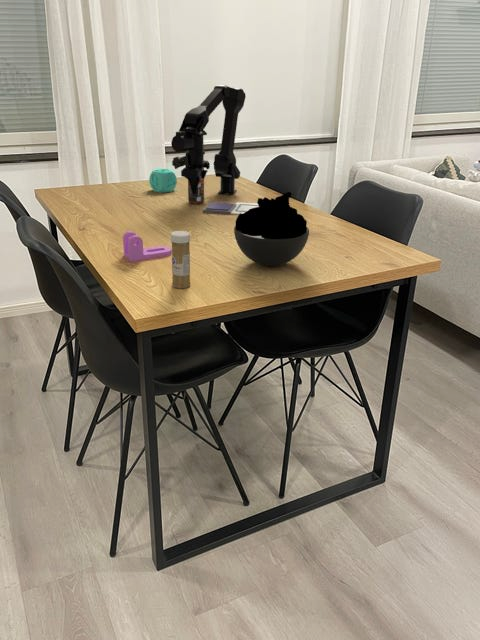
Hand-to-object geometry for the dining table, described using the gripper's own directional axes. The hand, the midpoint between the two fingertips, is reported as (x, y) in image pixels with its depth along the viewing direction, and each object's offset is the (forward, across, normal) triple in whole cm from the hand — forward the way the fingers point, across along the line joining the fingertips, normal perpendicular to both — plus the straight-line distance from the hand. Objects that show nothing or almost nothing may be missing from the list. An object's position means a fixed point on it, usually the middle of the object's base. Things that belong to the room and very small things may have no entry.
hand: (196, 191), depth 217 cm
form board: (+4, +5, +22) cm, 23 cm away
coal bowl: (+4, +61, +37) cm, 72 cm away
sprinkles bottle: (+4, +82, +18) cm, 84 cm away
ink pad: (+4, +8, +11) cm, 14 cm away
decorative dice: (+4, -16, -18) cm, 24 cm away
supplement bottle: (+4, 0, 0) cm, 4 cm away
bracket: (+4, +62, +3) cm, 62 cm away
